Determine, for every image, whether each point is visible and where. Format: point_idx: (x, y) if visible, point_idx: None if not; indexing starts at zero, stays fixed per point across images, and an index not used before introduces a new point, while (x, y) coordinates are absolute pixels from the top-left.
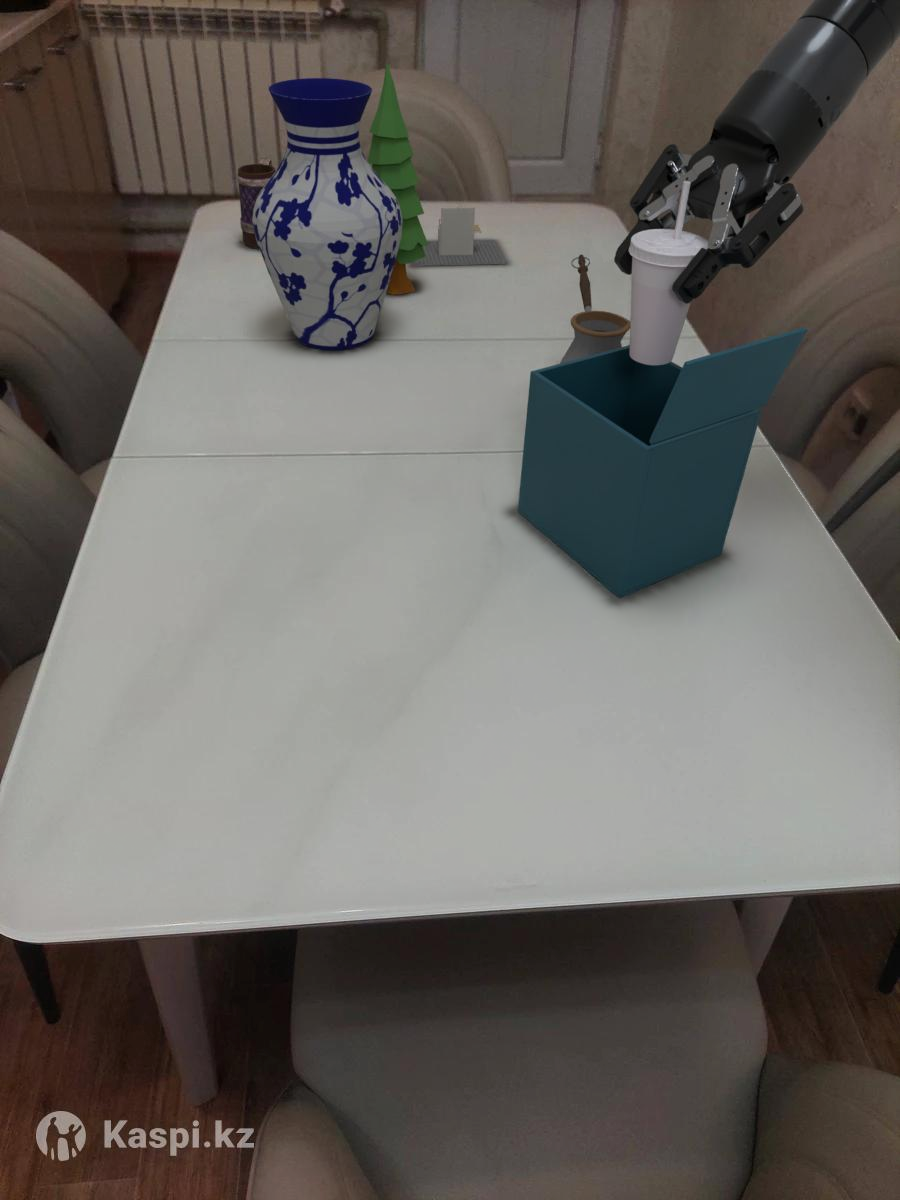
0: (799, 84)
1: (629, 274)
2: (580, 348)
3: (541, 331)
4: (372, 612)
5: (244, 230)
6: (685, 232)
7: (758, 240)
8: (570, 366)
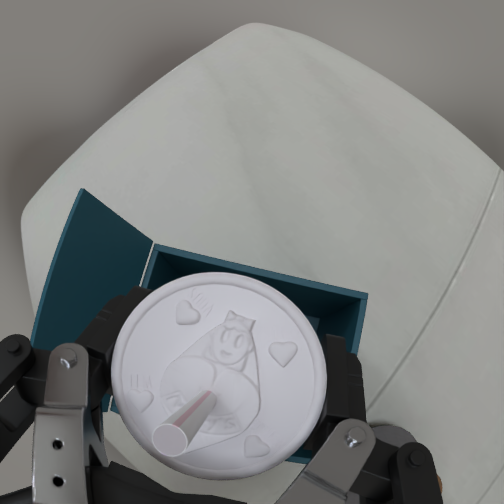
0: None
1: None
2: None
3: None
4: (302, 158)
5: None
6: (230, 471)
7: (12, 420)
8: (350, 351)
